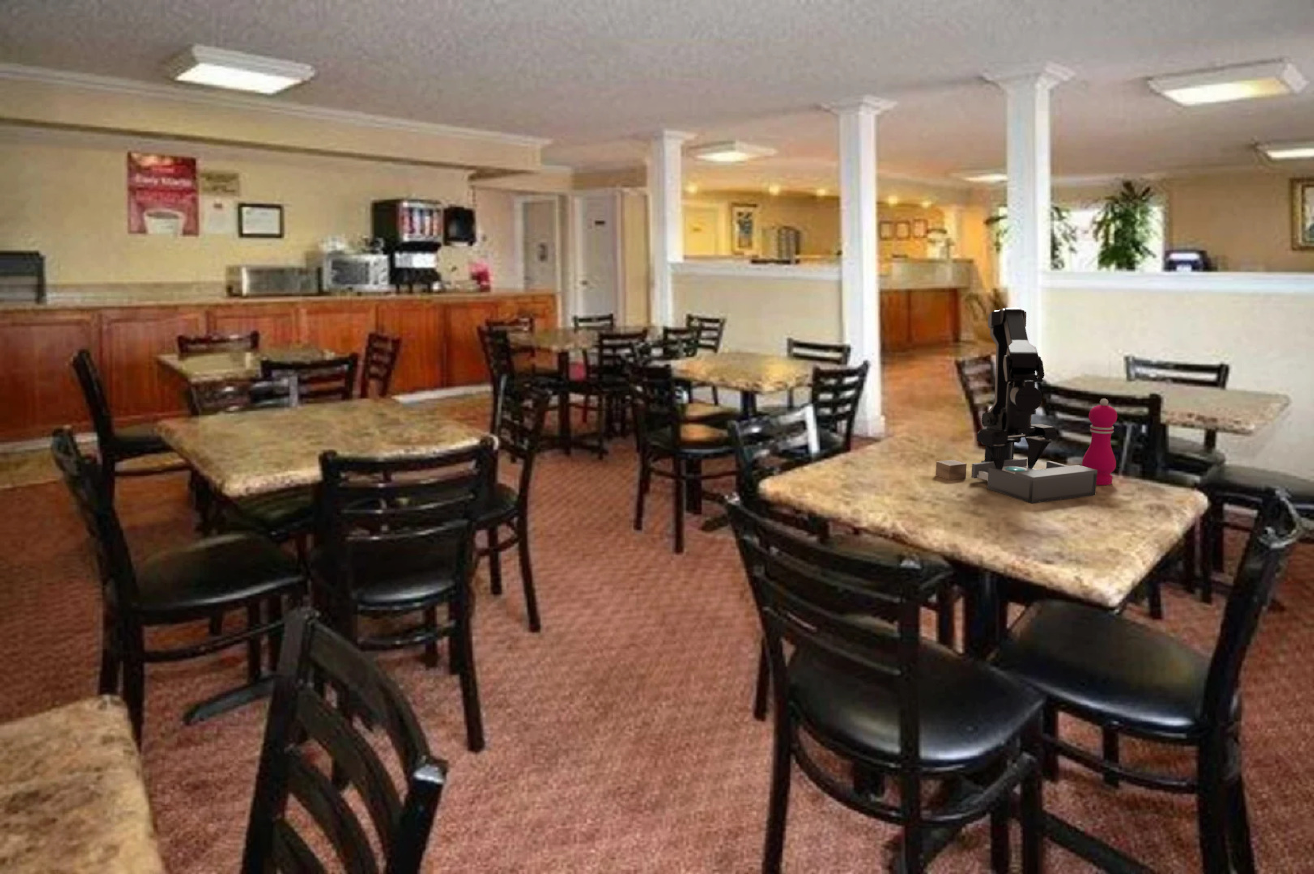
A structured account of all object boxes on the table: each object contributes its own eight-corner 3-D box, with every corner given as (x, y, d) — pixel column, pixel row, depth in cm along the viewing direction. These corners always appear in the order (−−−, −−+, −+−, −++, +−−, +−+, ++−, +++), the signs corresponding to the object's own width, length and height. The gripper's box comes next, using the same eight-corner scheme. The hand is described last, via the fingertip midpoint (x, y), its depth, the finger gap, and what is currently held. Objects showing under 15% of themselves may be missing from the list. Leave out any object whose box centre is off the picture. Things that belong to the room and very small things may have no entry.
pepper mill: (1087, 477, 222) (1094, 395, 219) (1118, 482, 217) (1126, 398, 214) (1075, 482, 217) (1082, 398, 214) (1107, 487, 212) (1115, 402, 209)
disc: (1015, 471, 221) (1016, 464, 220) (1037, 478, 214) (1037, 471, 214) (992, 474, 218) (992, 467, 218) (1013, 480, 212) (1013, 473, 212)
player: (1048, 481, 218) (1050, 457, 217) (1095, 495, 206) (1097, 469, 205) (987, 488, 212) (988, 464, 211) (1031, 503, 199) (1033, 477, 198)
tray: (1023, 471, 224) (1024, 458, 224) (1065, 483, 212) (1066, 469, 211) (971, 477, 219) (972, 463, 218) (1011, 490, 206) (1012, 475, 206)
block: (952, 473, 227) (953, 459, 227) (965, 477, 223) (966, 463, 222) (935, 475, 225) (936, 461, 225) (948, 479, 221) (949, 465, 220)
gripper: (1025, 397, 224) (1021, 460, 227) (963, 402, 217) (959, 466, 220) (1060, 404, 214) (1055, 469, 216) (996, 409, 207) (991, 476, 210)
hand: (1014, 470), depth 216 cm, fingers open, 9 cm apart
